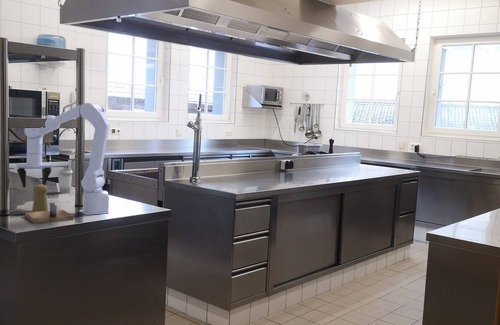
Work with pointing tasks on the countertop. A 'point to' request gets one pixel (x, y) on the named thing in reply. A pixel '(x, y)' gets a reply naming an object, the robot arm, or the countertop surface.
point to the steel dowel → (53, 209)
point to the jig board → (44, 216)
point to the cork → (40, 198)
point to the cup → (65, 180)
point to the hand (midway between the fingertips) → (33, 186)
